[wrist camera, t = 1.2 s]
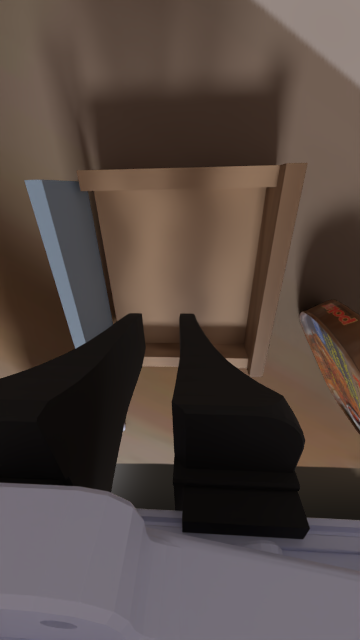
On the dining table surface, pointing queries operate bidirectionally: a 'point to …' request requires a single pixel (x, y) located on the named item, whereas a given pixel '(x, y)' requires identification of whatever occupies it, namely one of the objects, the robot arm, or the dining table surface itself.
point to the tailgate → (72, 255)
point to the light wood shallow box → (199, 252)
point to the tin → (337, 352)
